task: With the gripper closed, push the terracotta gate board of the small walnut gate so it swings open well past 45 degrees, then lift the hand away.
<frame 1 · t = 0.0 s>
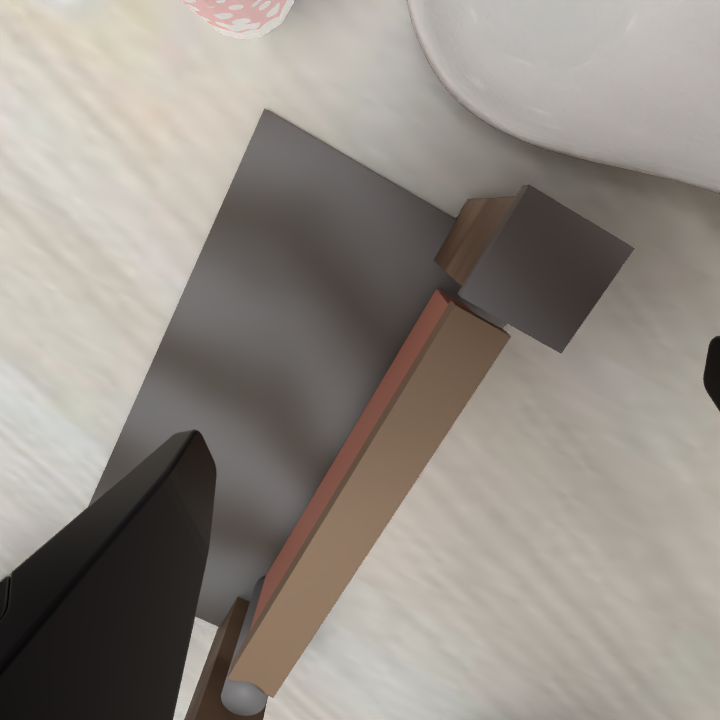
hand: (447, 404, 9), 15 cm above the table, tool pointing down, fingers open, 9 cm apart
gate frame: (348, 460, 27), on the table
spoon rest: (640, 105, 22), on the table
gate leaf: (346, 498, 23), point 4 cm above the table, hinge at 0.0°
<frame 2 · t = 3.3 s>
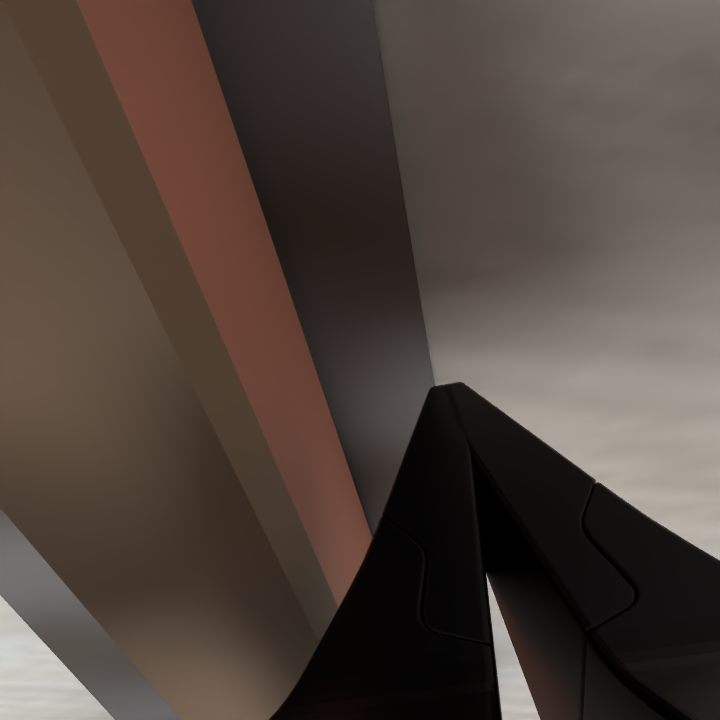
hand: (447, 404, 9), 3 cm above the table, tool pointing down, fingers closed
gate frame: (326, 444, 13), on the table
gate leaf: (307, 566, 10), point 4 cm above the table, hinge at 1.7°, touching gripper
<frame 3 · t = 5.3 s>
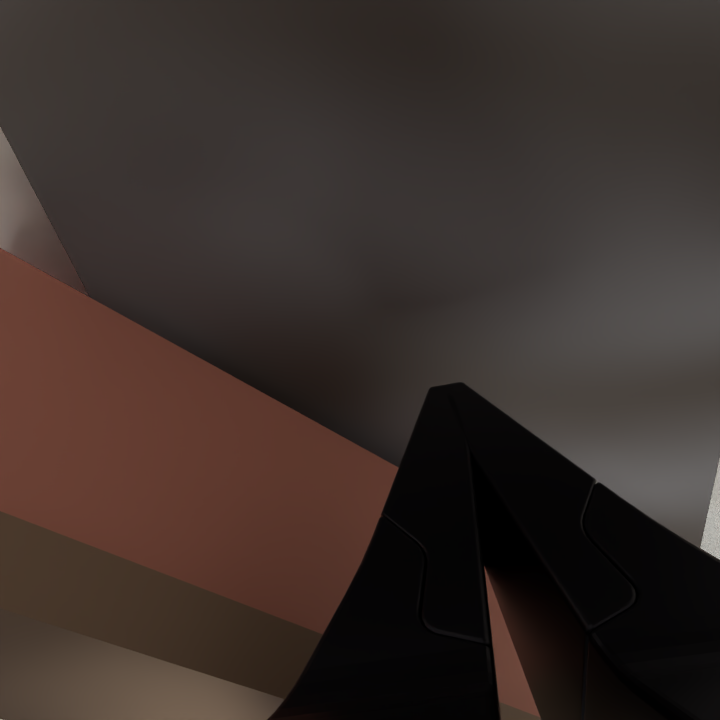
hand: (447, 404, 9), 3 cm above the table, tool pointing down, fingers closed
gate frame: (608, 355, 12), on the table
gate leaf: (392, 593, 10), point 4 cm above the table, hinge at 41.4°, touching gripper
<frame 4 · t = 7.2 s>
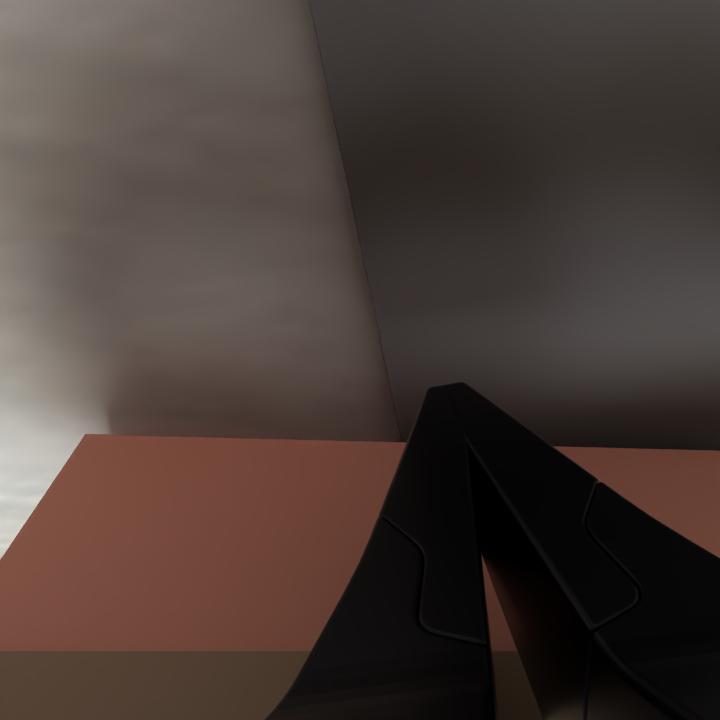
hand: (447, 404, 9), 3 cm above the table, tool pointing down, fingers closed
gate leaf: (534, 572, 10), point 4 cm above the table, hinge at 74.8°, touching gripper
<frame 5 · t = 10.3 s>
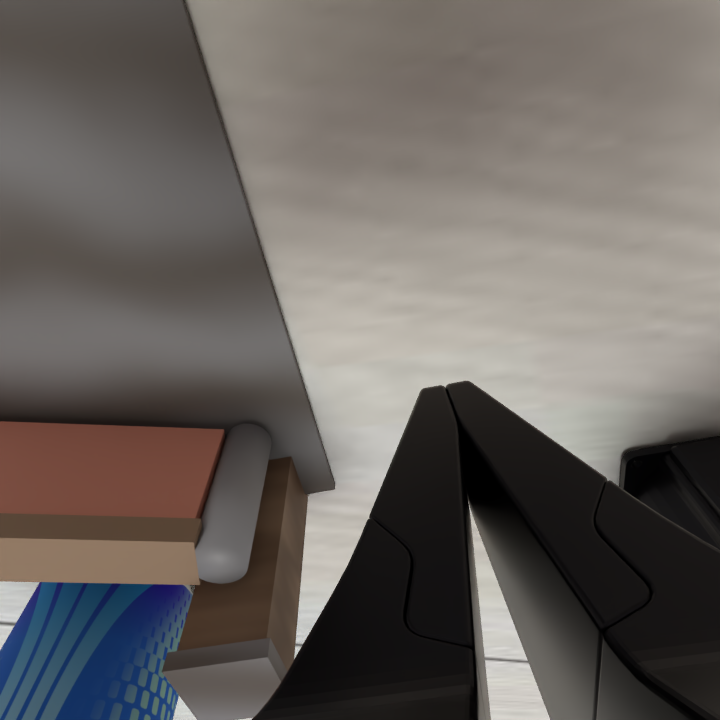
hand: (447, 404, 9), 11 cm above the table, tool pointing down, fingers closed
gate frame: (175, 244, 19), on the table
beer can: (130, 582, 29), on the table
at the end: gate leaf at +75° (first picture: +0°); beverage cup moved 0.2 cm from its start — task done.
